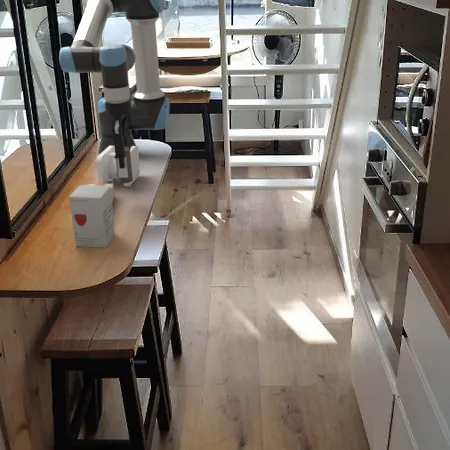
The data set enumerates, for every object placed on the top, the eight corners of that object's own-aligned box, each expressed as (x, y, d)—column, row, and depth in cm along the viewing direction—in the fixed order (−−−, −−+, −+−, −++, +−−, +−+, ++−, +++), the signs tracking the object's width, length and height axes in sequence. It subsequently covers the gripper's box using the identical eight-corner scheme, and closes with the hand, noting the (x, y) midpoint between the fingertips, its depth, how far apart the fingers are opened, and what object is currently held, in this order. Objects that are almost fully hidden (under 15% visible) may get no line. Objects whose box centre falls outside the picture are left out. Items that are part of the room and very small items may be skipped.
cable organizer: (127, 191, 203) (124, 158, 198) (97, 189, 205) (94, 157, 200) (141, 175, 216) (138, 144, 211) (112, 174, 218) (109, 143, 213)
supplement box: (74, 246, 167) (67, 196, 160) (85, 232, 175) (79, 184, 168) (106, 248, 165) (100, 197, 159) (116, 234, 173) (111, 185, 167)
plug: (129, 176, 193) (126, 145, 188) (135, 181, 189) (132, 149, 185) (115, 179, 191) (112, 147, 186) (121, 184, 187) (117, 152, 183)
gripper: (109, 92, 187) (116, 164, 197) (99, 108, 171) (108, 185, 181) (133, 92, 187) (140, 163, 197) (126, 107, 171) (133, 184, 181)
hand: (124, 173), depth 189 cm, fingers closed on plug, 4 cm apart
